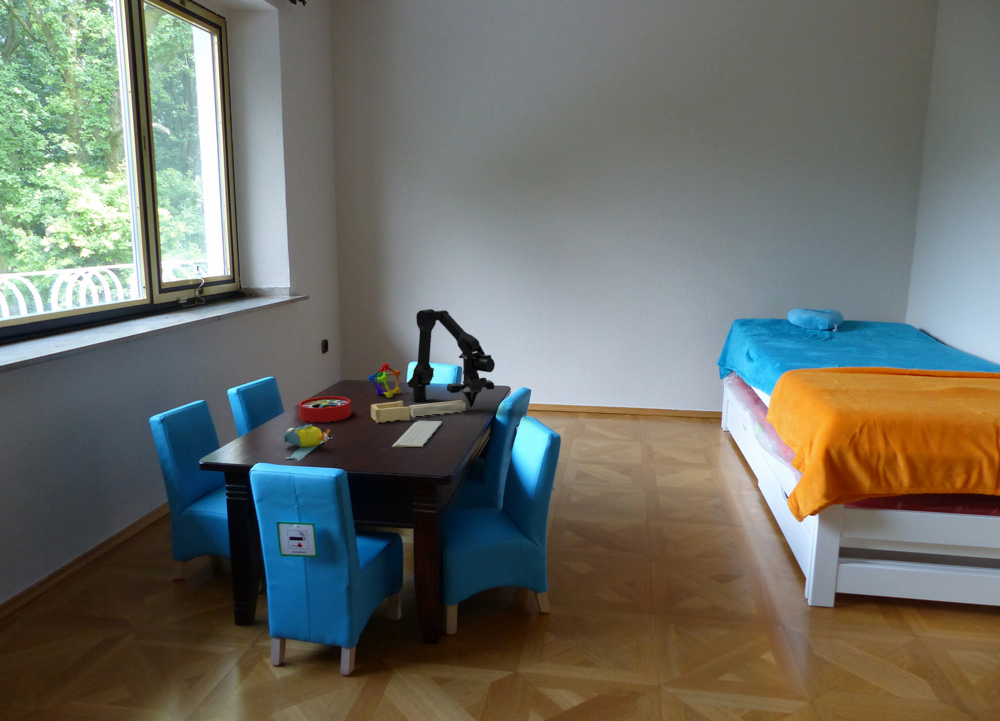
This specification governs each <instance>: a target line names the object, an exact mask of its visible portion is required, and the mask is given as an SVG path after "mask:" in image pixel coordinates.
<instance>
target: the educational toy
mask: <svg viewBox="0 0 1000 721" xmlns="http://www.w3.org/2000/svg"><path fill="white" fill-rule="evenodd" d="M389 365H390V364H388V363H387V362H385V363H382V364H381V368H380V369H379V370H378V371H377V372H375V374H369V375H368V377H367V380H368V382H371V383H372V384H373V386H374V387H375V389H376V390H375V394H376V395H377V396H382V395H385V396H386V398H388V399H391V398H392V397H393V396H394V394H396V395H400V393H401V391H402V389H401V388H400V387H399V377H400V375H401V374H402V373H401V371H400V370H399V369H396V370H394V369H392V368H391V367H390V366H389ZM387 370H388V371H390V372H387ZM388 376H395V387H394V389H390V388H389V386H388V383H387V381H388ZM376 380H377V381H378V384H377V383H376ZM382 383H384V386H385V389H384V390H383V389H382V387H381V386H382ZM390 397H391V398H390Z"/></svg>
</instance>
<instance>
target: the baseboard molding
mask: <svg viewBox="0 0 1000 721" xmlns="http://www.w3.org/2000/svg"><path fill="white" fill-rule="evenodd" d="M414 418H415V419H413V424H411V426H410V427H409V428H408V429H406V431H405V432H404V433H403V434H401V436H400V437H399V438H398V439H397V441H396V442H394V443H393V445H391V448H403V447H422V448H423V447H424V446H425V445H426V444H427V442H428V441H429V440H430V439H431V438H432V436H433V435H434V434H435V433H436V431H437V430H438V429H439V428H440V427H439V426H441V425H442V424H443V419H442V418H440V419H439V420H441V421H439V420H438V421H437V420H432V418H431V417H429V416H427V420H418V421H415V420H417V417H414ZM431 420H432V421H431ZM438 427H439V428H438ZM437 428H438V429H437ZM434 432H435V433H434ZM433 433H434V434H433ZM432 434H433V435H432ZM429 438H430V439H429ZM428 439H429V440H428ZM425 443H426V444H425ZM424 444H425V445H424ZM423 445H424V446H423Z"/></svg>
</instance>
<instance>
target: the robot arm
mask: <svg viewBox="0 0 1000 721" xmlns="http://www.w3.org/2000/svg"><path fill="white" fill-rule="evenodd" d="M437 321H438V322H440V324H441V325H442V326H443V327H444V328H445V329H446V331H448V333H449V334H450V335H451V336H452V337H453V338H454V339H455V341H456V343H457V346H458V348H459V350H460V351H461V353H460V354H459V356H458V358H459V359H462V360H463V361H462V362H463V363H462V367H463V369H462V374H463V381H462V384H458V383H456V382H455V383H453V382H452V383H448V384H447V385H446V391H447V392H448V393H450V394H456V393H460V392H461V393H462V394H463V395H464V397H465V398H466V401H467V403H468V405H469V407H470V408H473V406H474V403H475V401H476V398H477V396H478V395H479V393H482V390H483V388H485V389H486V390H487V391H488V390H495V383H494V382H493V381H492V380H490V379H487V377H481V378H480V376H479V372H484V373H492V372H493V371H494V369H495V365H496V364H495V360H494V359H493V358H492V354H491V355H490V354H486V353H485V351H484V350H483V348H482V346H481V342H480V341H479V340H478V338H476V337H474V336H473V335H472V334H470V333H467V332H466V331H465V330H464V329H463V328H462V327H461V326H460V325H459V323H457V321H456V320H455V319H454V318H453V317H452V316H451V315H450V313H449V312H448V311H447V309H446V310H434V309H433V308H428V309H421V310H418V312H417V313H416V325H417V328H418V329H419V339H418V354H417V363H416V364H415V366H414V368H413V373H412V377H411V378H410V379H409V380H408V382H407V385H408V388H410V389H412V397H411V398H410V400H411V401H412V402H414V403H418V402H419V403H420V402H421V403H422V402H429V400H430V399H429V398H427V386H430V385H431V383H432V382H431V381H432V380H433V379H434V371H435V368H434V367H431V363H430V358H431V357H430V356H431V347H432V346H431V343H432V332H433V330H434V327H435V326H436V324H437Z"/></svg>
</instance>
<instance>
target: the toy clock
mask: <svg viewBox="0 0 1000 721" xmlns="http://www.w3.org/2000/svg"><path fill="white" fill-rule="evenodd" d="M298 411H299V412H298V414H299V416H298V417H299V420H300V419H301V421H302V420H304V421H303V422H306V421H309V422H308V423H314V422H324V423H331V422H330V421H334V422H337V421H336V420H339V421H342V420H341V419H343V420H346V419H348V418H350V417H351V416H352V405H351V399H349V398H347V397H344V396H336V395H335V396H329V395H328V396H318V397H311V398H307V399H304V400H302V401H300V402H299V403H298ZM350 415H351V416H350ZM349 416H350V417H349ZM347 417H348V418H347ZM345 418H346V419H345Z"/></svg>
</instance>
